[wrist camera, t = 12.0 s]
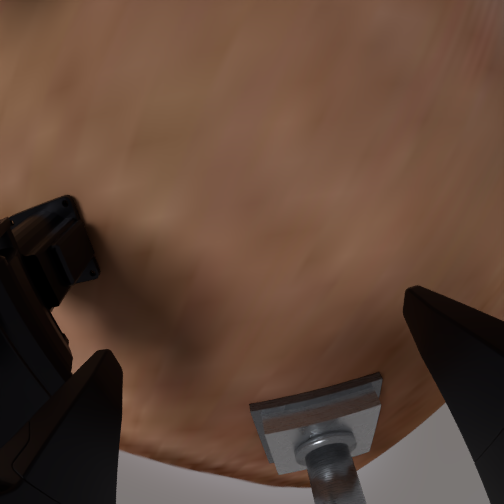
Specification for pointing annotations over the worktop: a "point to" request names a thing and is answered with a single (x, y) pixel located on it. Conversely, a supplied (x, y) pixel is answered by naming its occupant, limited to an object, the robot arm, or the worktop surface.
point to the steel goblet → (331, 468)
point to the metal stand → (318, 418)
